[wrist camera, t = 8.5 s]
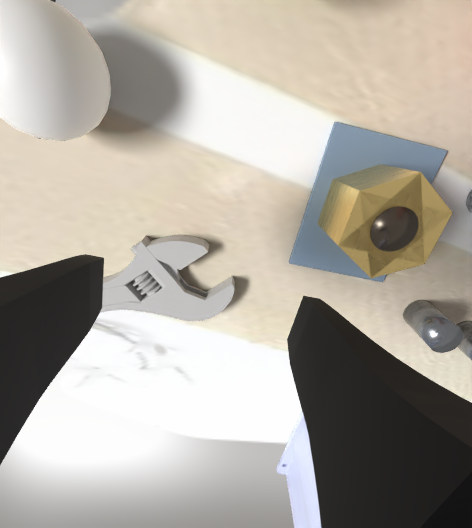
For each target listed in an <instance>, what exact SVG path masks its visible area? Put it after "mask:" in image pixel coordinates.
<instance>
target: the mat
mask: <svg viewBox="0 0 472 528" xmlns="http://www.w3.org/2000/svg"><path fill="white" fill-rule="evenodd" d="M446 153H447V150H443V149H439V148H435V147H431V146H428V145H424V144H420V143H416V142H412V141H408V140H404V139H400V138H397V137H393V136H389V135H385V134H381V133H377V132H373V131H369V130H366V129H362V128H358V127H354V126H350V125H346V124H342V123H338V122H334V125H333V128H332V131H331V134H330V137H329V140H328V143H327V146H326V149H325V152H324V156H323V159H322V162H321V165H320V168H319V171H318V174H317V177H316V180H315V183H314V186H313V189H312V192H311V195H310V198H309V201H308V205H307V208H306V211H305V214H304V217H303V220H302V223H301V226H300V229H299V232H298V235H297V238H296V241H295V244H294V247H293V250H292V254H291V257H290V260H289V263H290V264H295V265H300V266H305V267H309V268H314V269H319V270H324V271H329V272H334V273H339V274H344V275H349V276H354V277H359V278H364V279H369V280H374V281H379V282H383V281H384V279H385V277H386V275H387V274H386V275H382V276H378V277H374V278H370V277H369V276H368V275H367V274H366V273H365V272H364V271H363V270H362V269H361V268H360V267H359V266H358V265H357V264H356V263H355V262H354V261H353V260H352V259H351V258H350V257H349V256H348V255H347V254H346V253H345V252H344V251H343V250H342V249H341V248H340V247H339V246H338V245H337V244H336V243H335V242H334V241H333V240H332V239H331V238H330V237H329V236H328V235H327V233H326V232H325V231H324V230H323V229H322V228H321V227H320V226H319V225H318V224H317V223H318V220H319V217H320V214H321V212H322V209H323V206H324V203H325V200H326V197H327V195H328V192H329V189H330V186H331V183H332V180H333V179H335V178H338V177H341V176H344V175H348V174H351V173H354V172H357V171H360V170H364V169H367V168H370V167H373V166H376V165H380V164H382V165H387V166H392V167H397V168H402V169H407V170H412V171H417V172H421V173H422V174H423V175H424V177H425V178H426V179H427V180H428V182H429V183H430V184H431V183H432V181H433V179H434V177H435V175H436V173H437V171H438V169H439V167H440V165H441V163H442V161H443V159H444V157H445V155H446Z"/></svg>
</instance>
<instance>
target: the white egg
mask: <svg viewBox="0 0 472 528" xmlns="http://www.w3.org/2000/svg"><path fill="white" fill-rule="evenodd" d="M110 96H111V84H110V73H109V70H108V67H107V64H106V61H105V59H104V56H103V53H102V51H101V49H100V48H99V46H98V45H97V43H96V42H95V40H94V39H93V37H92V36H91V34H90V33H89V32H88V30H87V29H86V28H85V26H84V25H83V24H82V23H81V22H80V21H79V20H78V19H77V18H75V17H74V16H73V15H72V14H71V13H70V12H69V11H68V10H67V9H65V8H64V7H63V6H61V5H59V4H57V3H55V0H0V118H1V119H3V120H4V121H5V122H7V123H8V124H9V125H11V126H12V127H13V128H15V129H17V130H19V131H22V132H24V133H27V134H29V135H32V136H34V137H37V138H39V139H41V138H42V139H46V140H57V141H66V140H70V139H74V138H77V137H81V136H83V135H86V134H88V133H89V132H90V131H91V130H93V129H94V128H95V127H97V126H98V125H99V124H100V122H101V121H102V119H103V117H104V116H105V114H106V112H107V111H108V106H109V101H110Z"/></svg>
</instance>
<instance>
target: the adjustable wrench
mask: <svg viewBox="0 0 472 528" xmlns="http://www.w3.org/2000/svg"><path fill="white" fill-rule="evenodd" d="M209 246H210V245H209V244H208V243H207V241H206V240H204V239H201V238H198V237H194V236H188V235H172V236H166V237H161V238H158V239H154V240H152V241H151V240H150V239H149V238H148V237H147V236H145V238H144V239H143V240H142V241H141V242H139V243H137V244H136V245H134V246H133V247H132V248H131V250H132V252H133V253H134V254H135V258H134V259H133V261H132V262H131V263H130V264H129V265H128V266H127V267H126V268H125V269H123V270H122V271H120V272H118V273H116V274H114V275H110V276H107V277H103V299H102V309H101V311H100V312H105V311H111V310H134V311H141V312H149V313H154V314H160V315H164V316H168V317H172V318H177V319H181V320H185V321H201V320H206V319H209V318H211V317H213V316H215V315H217V314H219V313H220V312H221V311H222V310H224V309H225V307H226V306H227V305H228V304H229V303H230V301H231V299H232V297H233V294H234V291H235V282H234V278H233V276H231V277H229V278H228V279H226V280H225V281H223V282H221V283H220V284H218V285H216V286H215V287H213V288H211V289H210V290H208V291H204V290H201V289H199V288H196V287H194V286H191V285H189V284H187V283H186V282H185V280H184V279H183V278H182V277H181V276H180V274H179V270H181V269H183V268H184V267H186V266H187V265H189V264H191V263H192V262H194V261H195V260H197V259H198V258H200V257H201V256H203V255H204V254H206V253H208V250H209ZM133 280H134V281H135V283H134V281H133ZM137 284H138V285H139V286H137ZM141 289H143V290H141ZM145 293H146V294H145Z"/></svg>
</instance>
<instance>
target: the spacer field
mask: <svg viewBox="0 0 472 528" xmlns="http://www.w3.org/2000/svg"><path fill="white" fill-rule="evenodd" d="M467 208H468V210H469V211H470V212H471V213H472V190H471V192H470V193H469V195H468V198H467ZM403 317H404V320H405V321H406V322H407V323H408V324H409V325H410V326H411V327H412V328H413V330H414V331H415V332H416V333H417V334H418V335H419V336H420V337H421V338H422V339H423V340H424V341H425V342H426V344H427V345H428V346H429V347H430V348H431V349H432V350H433V351H435V352H439V353H443V352H448V351H451V350H453V349H455V348H456V347H458V348H459V349H460V350H461V351H462V352H463V353H464V354H466V355H467V356H468V357H469V358H470V359H471V360H472V322H471V321H465V322H461V323H459V324H457V325H455V324H454V323H453V322H452V321H451V320H449V319H448V318H447V317H446V316H445V315H444V314H442V313H441V312H440V311H439V310H438V309H437V308H435V307H434V306H433V305H432V304H431V303H429V302H428V301H425V300H419V301H415V302H413V303H411V304H410V305H408V306H407V308H406V309H405V311H404V314H403Z"/></svg>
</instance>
